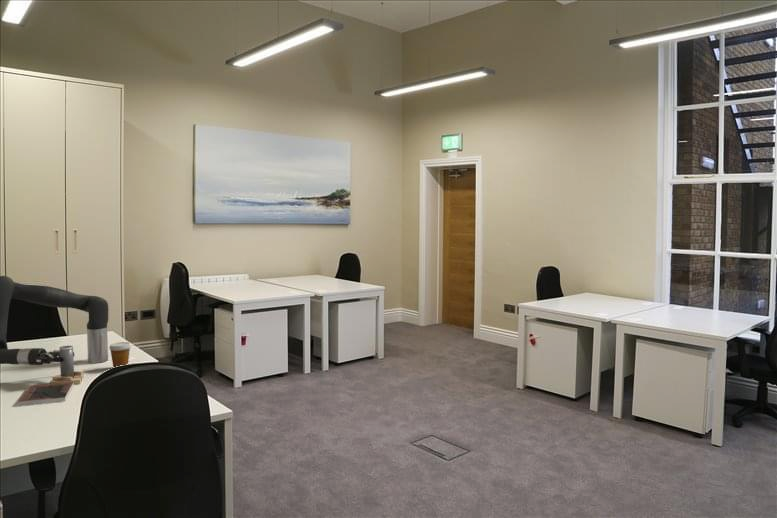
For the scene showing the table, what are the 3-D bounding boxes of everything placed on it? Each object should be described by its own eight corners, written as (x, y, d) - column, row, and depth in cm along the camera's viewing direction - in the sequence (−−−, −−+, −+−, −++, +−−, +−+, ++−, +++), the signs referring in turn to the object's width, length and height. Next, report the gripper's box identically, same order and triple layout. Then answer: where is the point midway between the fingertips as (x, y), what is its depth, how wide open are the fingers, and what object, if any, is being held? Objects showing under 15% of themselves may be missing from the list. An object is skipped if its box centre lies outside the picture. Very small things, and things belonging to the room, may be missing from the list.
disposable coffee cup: (107, 371, 266) (107, 346, 265) (112, 366, 275) (111, 342, 274) (129, 370, 268) (128, 345, 267) (132, 365, 277) (132, 341, 276)
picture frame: (65, 402, 223) (73, 387, 243) (65, 396, 223) (73, 381, 243) (17, 407, 217) (29, 391, 237) (17, 401, 217) (29, 385, 237)
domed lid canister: (61, 376, 250) (60, 346, 249) (75, 375, 252) (74, 345, 251) (59, 379, 245) (58, 348, 244) (73, 378, 247) (72, 347, 246)
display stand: (56, 379, 252) (56, 371, 252) (83, 377, 256) (83, 369, 256) (51, 387, 241) (50, 379, 241) (79, 384, 245) (79, 376, 245)
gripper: (21, 352, 240) (59, 352, 240) (41, 344, 254) (77, 344, 254) (22, 369, 241) (59, 369, 241) (42, 360, 255) (77, 361, 255)
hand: (68, 356), depth 248 cm, fingers open, 8 cm apart
